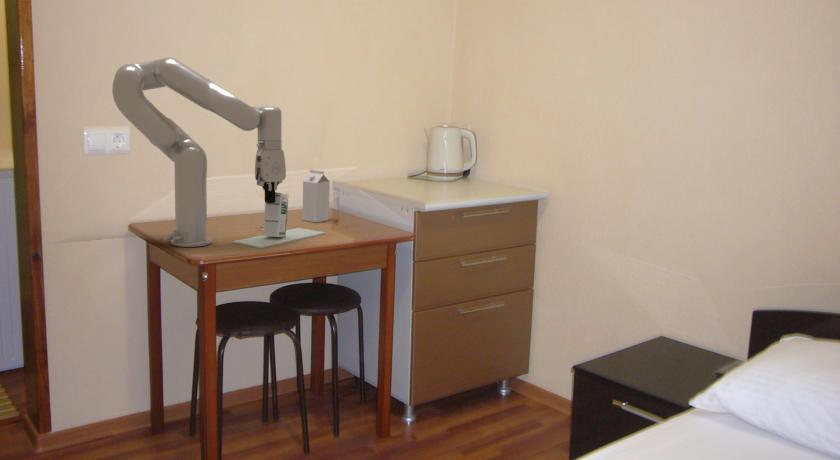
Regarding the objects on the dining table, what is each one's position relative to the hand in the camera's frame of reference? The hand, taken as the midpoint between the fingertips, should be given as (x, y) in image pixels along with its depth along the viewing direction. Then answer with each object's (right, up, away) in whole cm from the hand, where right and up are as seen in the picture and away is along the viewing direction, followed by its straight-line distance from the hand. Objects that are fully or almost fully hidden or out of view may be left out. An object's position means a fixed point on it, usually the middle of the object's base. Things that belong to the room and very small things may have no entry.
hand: (270, 202), depth 251 cm
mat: (+2, -12, +7) cm, 14 cm away
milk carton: (+9, -6, +42) cm, 44 cm away
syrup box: (0, -11, +4) cm, 12 cm away
